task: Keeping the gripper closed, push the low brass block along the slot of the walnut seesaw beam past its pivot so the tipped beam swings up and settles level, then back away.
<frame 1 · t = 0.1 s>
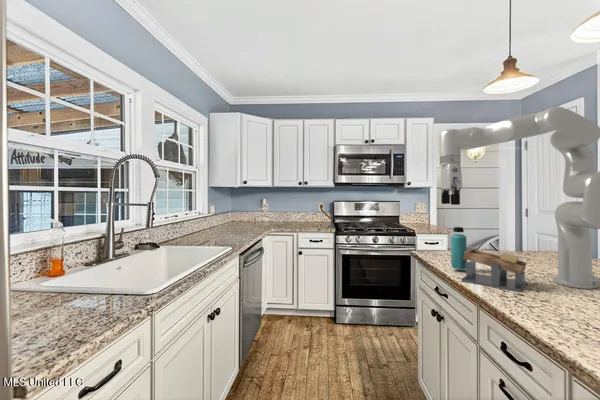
hand: (450, 204, 117), 31 cm above the table, tool pointing down, fingers open, 9 cm apart
beam stand: (499, 283, 114), on the table
brass block: (508, 263, 112), point 9 cm above the table, tilted 9°, touching beam
beam: (493, 260, 115), point 9 cm above the table, hinge at -8.8°, touching brass block
beverage bottle: (459, 271, 134), on the table
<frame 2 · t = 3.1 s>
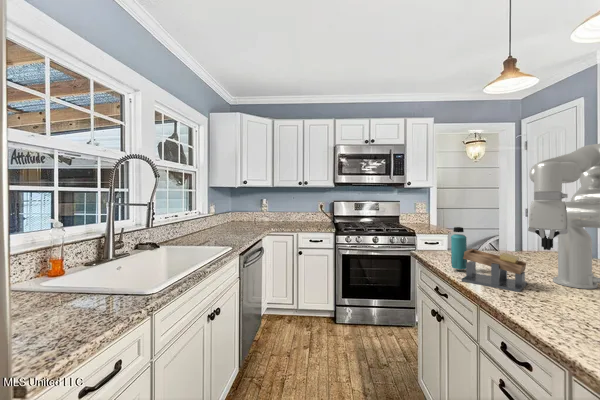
hand: (547, 249, 103), 15 cm above the table, tool pointing down, fingers closed
nothing on the table moved.
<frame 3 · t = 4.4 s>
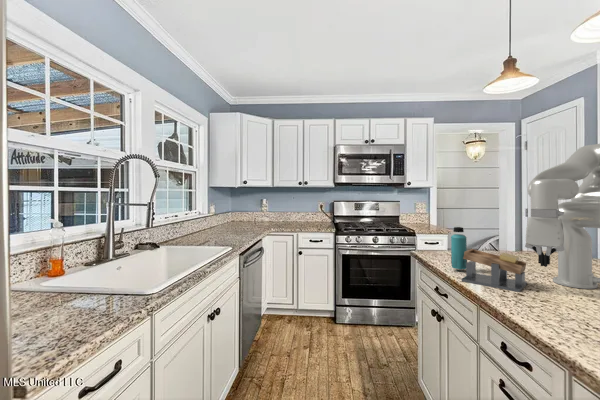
hand: (544, 265, 104), 9 cm above the table, tool pointing down, fingers closed
nothing on the table moved.
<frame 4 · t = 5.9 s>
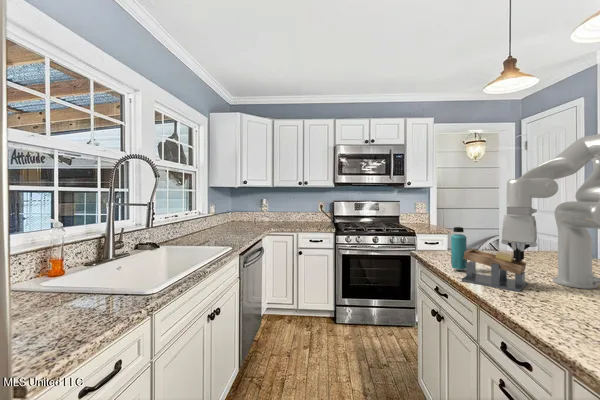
hand: (518, 260, 109), 10 cm above the table, tool pointing down, fingers closed
brass block: (504, 262, 113), point 9 cm above the table, tilted 9°, touching gripper
beam: (493, 260, 115), point 9 cm above the table, hinge at -8.9°
everything else where it was.
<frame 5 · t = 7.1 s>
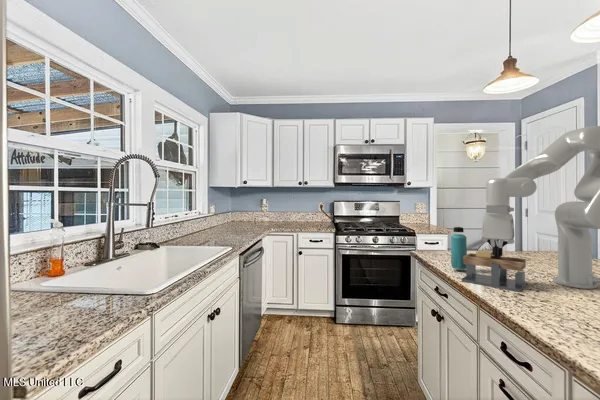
hand: (497, 257, 114), 10 cm above the table, tool pointing down, fingers closed
brass block: (485, 259, 118), point 9 cm above the table, touching gripper
beam: (493, 261, 115), point 8 cm above the table, hinge at 1.1°, touching beam stand
everything else where it was.
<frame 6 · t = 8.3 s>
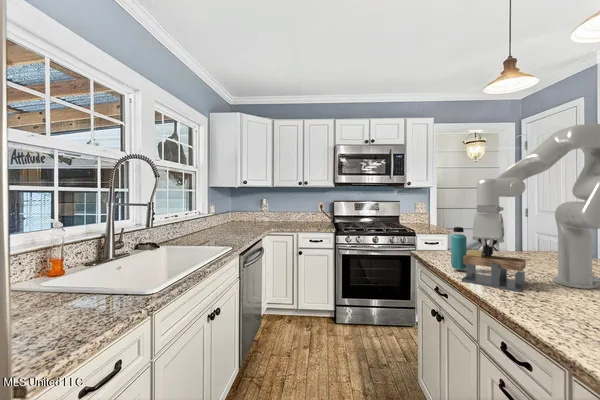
hand: (488, 255, 117), 10 cm above the table, tool pointing down, fingers closed
brass block: (476, 258, 120), point 9 cm above the table, touching beam, gripper
beam: (493, 261, 115), point 8 cm above the table, hinge at 1.0°, touching brass block
everything else where it was.
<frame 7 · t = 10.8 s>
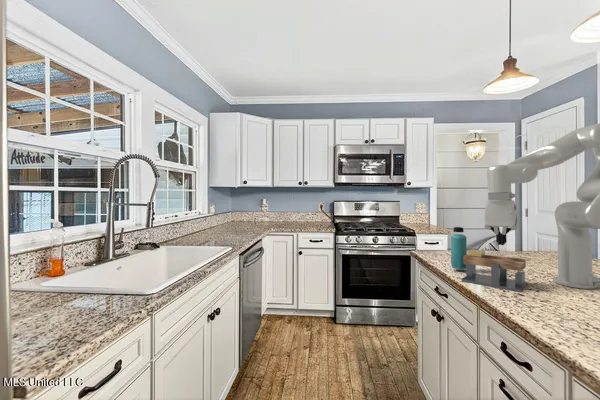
hand: (501, 244, 114), 15 cm above the table, tool pointing down, fingers closed
brass block: (476, 258, 120), point 9 cm above the table, touching beam
everything else where it was.
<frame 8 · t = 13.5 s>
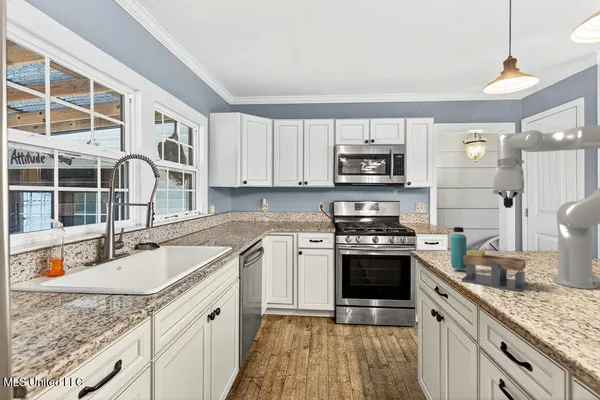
hand: (508, 207, 123), 29 cm above the table, tool pointing down, fingers closed
nothing on the table moved.
at the end: beam at +1° (first picture: -9°); brass block 1.9 cm from the target spot on the beam, point 0.9 cm above the beam's base; brass block tilted 1° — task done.
